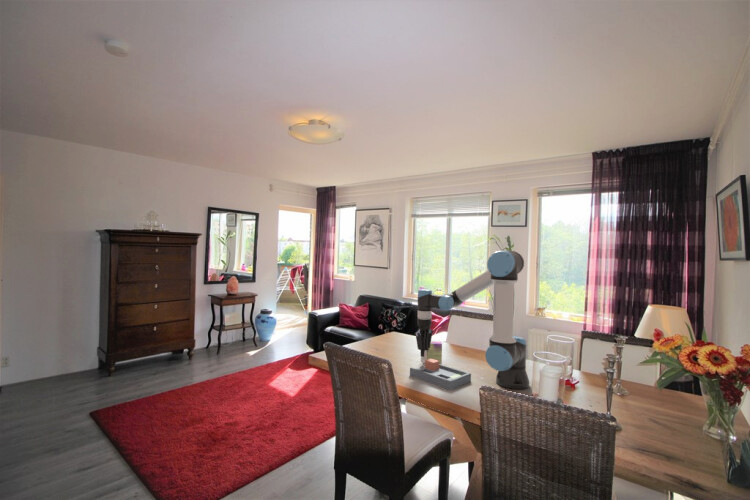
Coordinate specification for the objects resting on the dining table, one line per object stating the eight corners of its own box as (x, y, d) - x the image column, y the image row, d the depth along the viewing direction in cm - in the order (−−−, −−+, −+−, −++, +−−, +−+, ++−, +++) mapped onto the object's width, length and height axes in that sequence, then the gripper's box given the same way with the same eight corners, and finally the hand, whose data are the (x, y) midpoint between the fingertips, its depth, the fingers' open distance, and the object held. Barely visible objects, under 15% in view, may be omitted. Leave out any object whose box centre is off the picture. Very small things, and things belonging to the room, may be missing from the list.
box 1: (440, 361, 206) (441, 341, 207) (441, 364, 201) (442, 343, 201) (422, 360, 207) (423, 340, 208) (423, 363, 202) (423, 343, 202)
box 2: (470, 381, 175) (470, 373, 175) (450, 390, 164) (450, 381, 164) (430, 368, 194) (430, 361, 194) (409, 375, 182) (409, 367, 182)
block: (439, 368, 186) (439, 360, 186) (433, 370, 183) (433, 362, 183) (431, 365, 190) (431, 358, 190) (425, 367, 187) (425, 360, 187)
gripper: (426, 316, 198) (425, 358, 198) (411, 318, 189) (410, 363, 189) (437, 318, 193) (436, 361, 192) (422, 320, 184) (421, 366, 184)
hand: (423, 362), depth 191 cm, fingers closed
